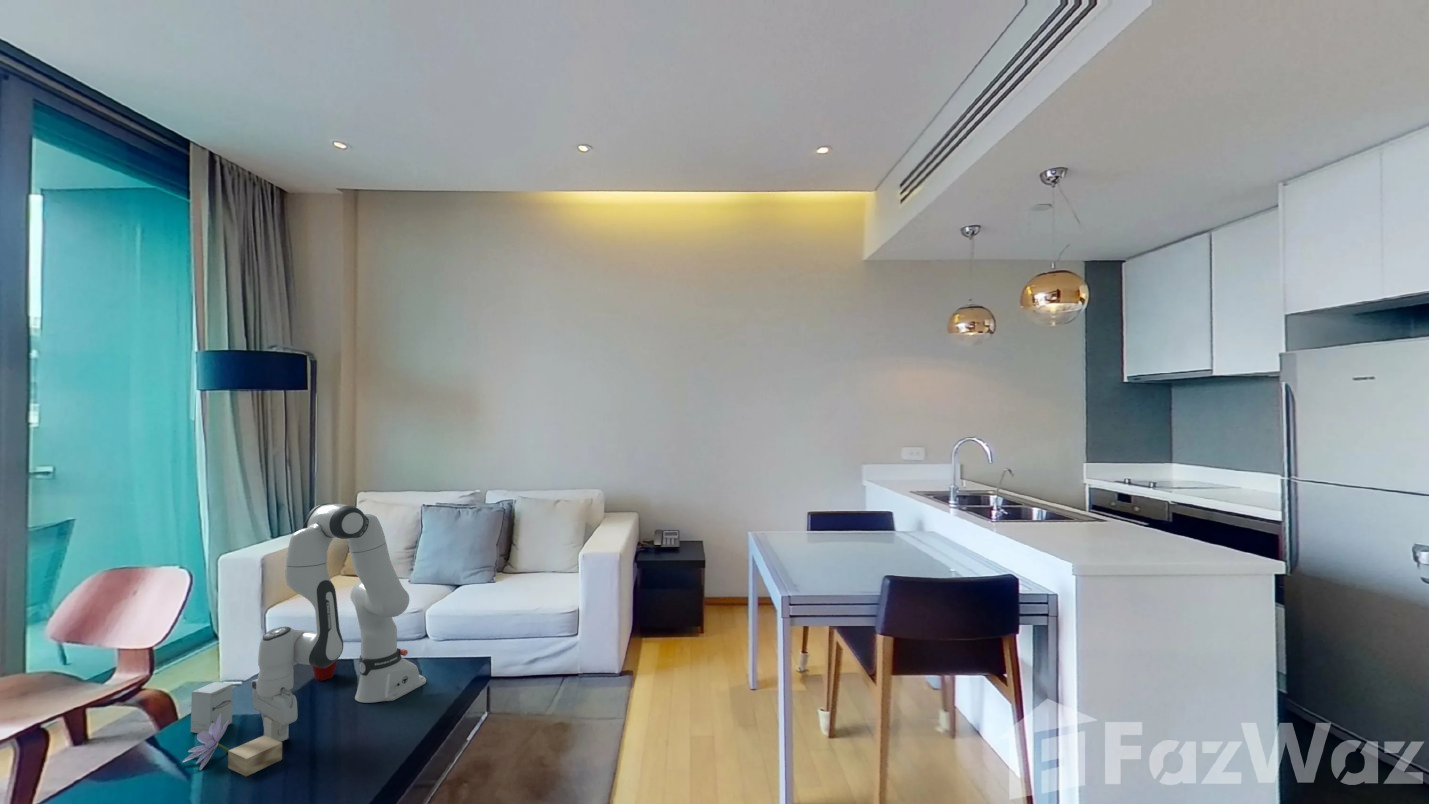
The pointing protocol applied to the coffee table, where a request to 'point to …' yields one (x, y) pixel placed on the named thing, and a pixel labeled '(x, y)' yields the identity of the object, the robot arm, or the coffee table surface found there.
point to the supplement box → (211, 706)
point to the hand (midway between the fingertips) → (274, 730)
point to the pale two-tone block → (273, 729)
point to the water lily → (208, 742)
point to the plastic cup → (324, 672)
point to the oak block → (254, 755)
